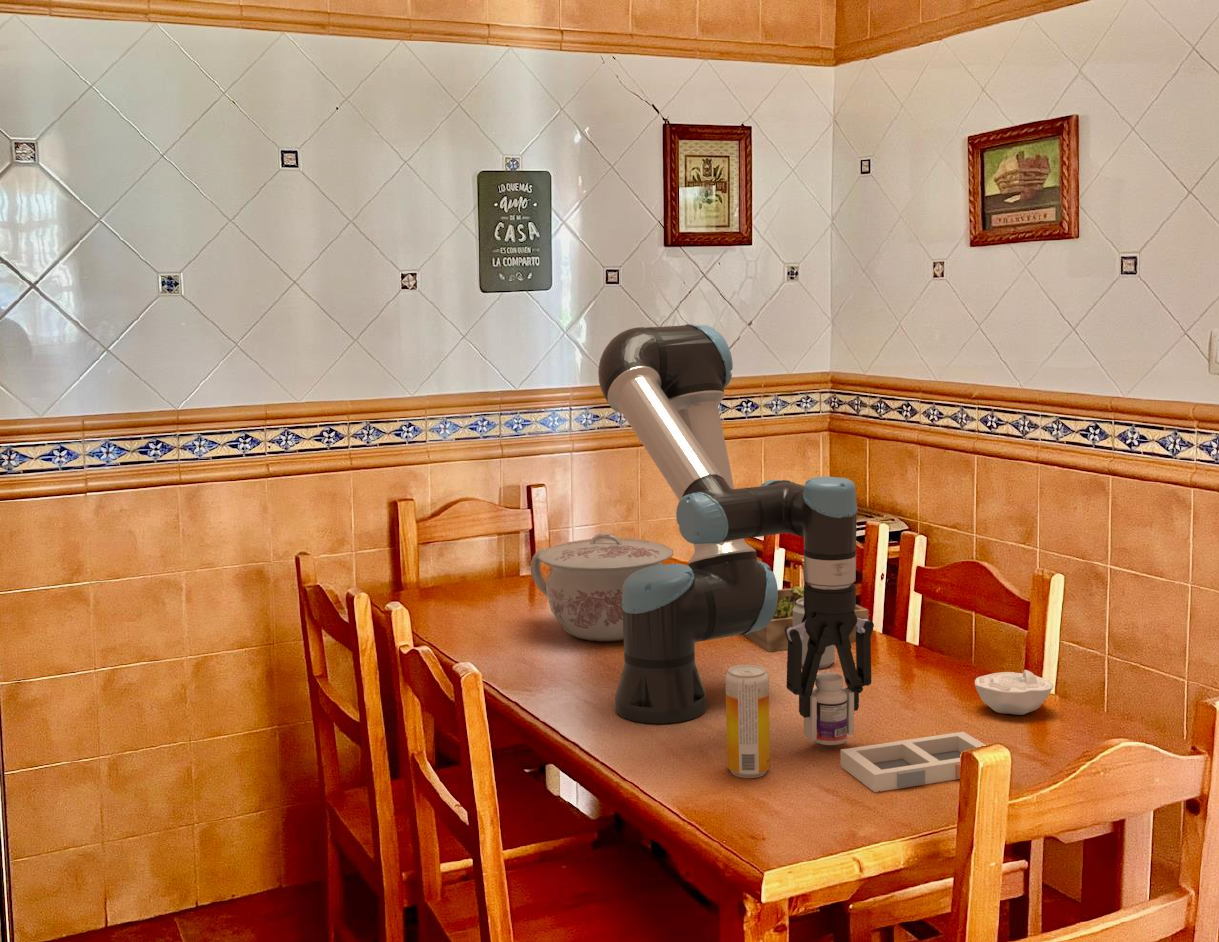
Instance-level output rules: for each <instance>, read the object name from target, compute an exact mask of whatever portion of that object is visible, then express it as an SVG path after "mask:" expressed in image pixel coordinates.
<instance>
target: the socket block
mask: <svg viewBox="0 0 1219 942" xmlns="http://www.w3.org/2000/svg"><path fill="white" fill-rule="evenodd" d="M986 745H987V744H985V743H983V742H981V741H980V740H978V739H977V738H974V737H973V736H971V735H970V734H968V733H967V732H964V731H959V732H958V731H957V732H952V733H945V734H938V735H933V736H924V737H917V738H912V739H905V740H898V741H897V740H895V741H890V742H885V743H878V744H870V745H863V746H862V745H861V746H858V747H857V746H856V747H850V748H843V749H842V748H841V749H840V767H841V768H842V769H843V770H845V771H846V772H847V773H849V774H850V775H851V776H852V777H854V778H855V779H856V780H858V781H859V782H861V784H863V785H864V786H866V787H867V788H868V789H869V790H871V791H872V792H873V793H879V791H880V792H885V791H891V790H897V789H905V788H910V787H916V786H918V787H919V786H922V785H923V786H924V785H929V784H936V783H941V782H949V781H954V780H955V781H956V780H961V779H960V754H961V752H963V751H965V750H968V749H973V748H977V747H981V746H986Z"/></svg>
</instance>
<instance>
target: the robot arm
mask: <svg viewBox="0 0 1219 942" xmlns="http://www.w3.org/2000/svg"><path fill="white" fill-rule="evenodd" d="M733 363H734V362H733V358H732V353H731V349H730V347H729V344H728V342H727V340H726V339H725V337H724V336H723V335H722V334H721V333H720V332H719V331H718V330H716V328H714V327H713V326H708V325H699V324H697V325H696V324H690V323H689V324H684V325H668V326H652V327H651V326H649V327H646V326H645V327H643V326H640V327H639V326H638V327H634V328H629V329H626V330H624V331H622V332H620V333H618V334H617V335H616V336H614V337H613V338H612V339H611V340H610V341H609V343H608V344H607V345H606V347H605V348H604V350H603V352H602V354H601V356H600V360H599V364H598V369H597V370H598V371H597V373H598V384H599V387H600V390H601V393H602V395H603V397H604V398H605V400H606V402H607V404H608V405H609V407H610V408H611V409H612V410H613V411H615V412H616V413H619V414H622V415H623V417H624V419H625V420H626V421H627V422H628V424H629V426H630V427H631V428H632V431H633V432H634V434H635V435H636V437H637V438H638V439H639V441H640V443H641V444H642V445H643V447H644V449H645V450H646V452H647V453H648V455H649V457H650V458H651V460H652V461H653V463H654V464H655V465H656V467H657V469H658V470H659V472H660V473H661V475H662V476H663V478H664V479H665V481H666V483H667V484H668V485H669V487H670V488H671V490H672V492H673V494H675V496H676V498H677V499H678V503H677V506H676V511H675V513H676V515H675V517H676V523H677V524H678V527H679V528H678V530H679V533H680V535H681V536H682V538H683V539H684V540H685V541H686V542H688V543H690V544H692V545H693V548H694V553H693V555H692V556H691V557H690V559H689V560H688V562H687V563H688V565H686V564H681V563H668V564H663V563H661V565H655V566H650V567H646V568H643V569H640V570H638V571H636V572H634V573H632V574H631V575H629V576H628V578H627V579H626V580H625V581H624V584H623V593H622V603H621V606H622V609H623V636H624V640H623V657H624V662H623V663H624V664H623V668H622V672H621V675H620V677H619V678H620V679H619V681H618V684H617V689H616V692H615V697H614V704H615V705H614V707H615V708H614V709H615V712H616V714H617V715H618V716H620V717H622V718H624V719H627V720H629V721H633V722H637V723H643V724H644V723H645V724H675V723H680V722H686V721H690V720H692V719H696V718H699V716H701V715H703V714H704V713H705V712H706V711H707V710H708V709H707V706H708V705H707V701H708V700H707V693H706V690H705V687H704V684H703V682H702V678H701V676H700V674H699V670H698V667H697V664H696V653H695V648H696V647H695V644H696V643H699V642H705V641H711V640H716V639H723V638H728V637H735V636H744V635H746V634H748V633H750V632H754V631H758V630H761V629H763V628H765V627H766V626H767V625H768V624H769V623H770V621H771V620H772V618H773V615H774V613H775V611H776V607H777V601H778V590H779V589H778V582H777V578H776V576H775V573H774V571H772V570H771V567H770V566H769V565H768V563H765V562H763V561H761V560H759V559H758V557H757V549H755V548H753V547H752V546H751V545H749V544H747V542H746V541H745V539H749V538H759V537H766V536H773V535H783V534H792V535H795V536H799V537H801V538H802V537H803V580H804V581H805V582H806V583H805V584H804V586H803V587H804V611H805V613H804V617H803V619H802V622H801V623H800V624H798V625H796V626H794V627H791V626H787V627H785V634H786V637H787V640H788V650H787V655H786V656H787V660H786V689H787V690H788V691H789V692H791V693H792V694H793V695H795V696H798V713H799V715H800V716H802V717H803V734H804V735H805V736H806V737H808V738H809V739H810V740H811V741H813V740H816V739H817V697H815V696H814V695H813V694H812V692H813V690H814V689H815V688H814V687H815V685H816V684H815V680H816V676H817V675H818V674H819V665H820V661H821V657H822V654H824V652H825V649H826V647H828V646H831V645H834V647H835V649H836V652H837V655H838V659H839V663H840V667H841V671H842V674H843V678H844V682H845V685H846V686H843V687H842V688H841V689H843V690H844V691H845V692H846V694H847V735H849V736H850V735H854V734H855V733H854V730H855V712H857V711H858V710H859V706H860V694H861V693H862V692H863V690H864V688H863V687H865V686H870V685H871V684H872V646H871V645H872V642H871V641H872V640H871V637H872V634H873V631H874V627H875V624H874V623H875V622H873V621H871V620H868V619H866V618H861V619H860V618H857V616H856V614H855V611H854V610H855V607H856V601H857V599H856V598H857V596H856V595H857V594H856V593H857V592H856V590H857V588H856V586H855V584H854V582H856V577H857V576H856V575H857V574H856V572H857V571H856V570H857V567H856V566H857V554H856V553H857V552H856V551H857V524H858V523H857V521H858V519H857V518H858V515H857V514H858V509H859V507H858V504H857V491H856V489H857V488H856V485H855V483H854V481H853V480H851V479H849V478H847V477H836V476H817V477H812V478H809V479H807V480H806V481H805V483H804V485H803V484H799V483H795V482H794V481H790V480H787V479H782V480H781V479H770V480H769V479H768V480H766V481H765V482H763V483H762V484H761V485H759V486H758V485H757V486H752V487H742V488H741V487H739V488H735V485H734V481H733V476H732V471H731V465H730V460H729V455H728V451H727V444H726V440H725V435H724V430H723V424H722V420H721V415H720V410H719V406H720V404H721V402H722V401H723V399H724V398H725V396H726V394H725V388H727V387H728V386H729V384H730V382H731V380H732V377H733V376H732V375H733V374H732V372H731V371H733V368H734V367H733V365H734V364H733ZM854 627H855V630H856V642H855V658H856V660H854V659H855V658H854V656H853V653H852V644H851V643H852V642H850V639H849V635H850V633H851V632H852V630H853V629H854ZM805 631H806V633H807V634H808V635H809V640H808V644H807V647H808V650H807V654H806V658H805V662H804V665H803V667H802V641H801V640H803V639H804V637H803V634H804V632H805Z"/></svg>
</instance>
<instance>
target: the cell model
mask: <svg viewBox="0 0 1219 942" xmlns="http://www.w3.org/2000/svg"><path fill="white" fill-rule="evenodd" d="M974 686H975V688H976V691H977V694H978V696H979V697H980V699H981V701H982V702H983V703H984V704H985V705H986V706H988V707H989V708H990V709H991V710H993V711H994V712H996V713H997V714H998V713H999V714H1009V715H1015V716H1018V715H1019V716H1023V715H1026V714H1028V713H1031V712H1033V711H1037V710H1038V709H1040V707H1041V706H1042V704H1044V702H1045V701H1046V699H1048V697H1049V695H1050V693H1051V691H1052V690H1053V688H1054V687H1055V686H1054V684H1053V683H1052V682H1051V681H1050V680H1048V679H1046V678H1043V677H1040V676H1038V675H1035V674H1034V673H1033V672H1032V671H1030V670H1028V669H1023V671H1022V673H1021V672H1012V671H1002V672H1001V671H1000V672H993V673H989V674H988V673H987V674H986V675H981V676H978V677H976V678H975V680H974Z"/></svg>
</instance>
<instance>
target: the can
mask: <svg viewBox="0 0 1219 942" xmlns="http://www.w3.org/2000/svg"><path fill="white" fill-rule="evenodd" d="M796 603H797V604H796V606H795V607H794V608H793V627H794V626H796V625H798V624H800V623H801V622H802V619H803V617H804V613H805V611H804V598H800V599H798V600H797V601H796ZM803 637H804V639H803V640H801V641H802V668H803V665H804V662H805V658H806V654H807V650H808V647H807V644H808V640H809V635H808V634H807V633H806V631H805V632H804V634H803ZM835 649H836V647H835V645H831V646H828V647H826V649H825V652H824V654H822V657H821V661H820V665H819V669H824V668H825V669H826V668H828V667H830V666H831V665H832V663H834V662H835V659H836V658H835V656H836V655H835V651H836V650H835ZM819 669H818V670H819Z"/></svg>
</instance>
